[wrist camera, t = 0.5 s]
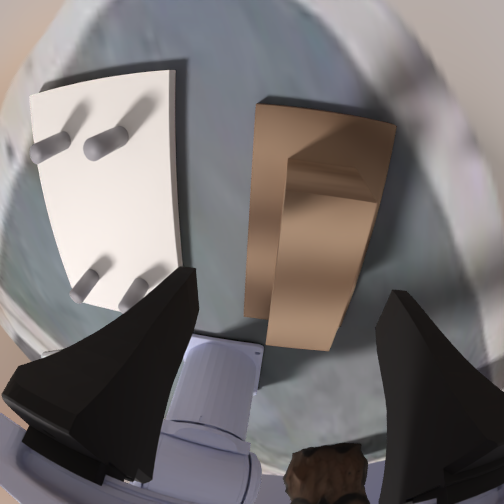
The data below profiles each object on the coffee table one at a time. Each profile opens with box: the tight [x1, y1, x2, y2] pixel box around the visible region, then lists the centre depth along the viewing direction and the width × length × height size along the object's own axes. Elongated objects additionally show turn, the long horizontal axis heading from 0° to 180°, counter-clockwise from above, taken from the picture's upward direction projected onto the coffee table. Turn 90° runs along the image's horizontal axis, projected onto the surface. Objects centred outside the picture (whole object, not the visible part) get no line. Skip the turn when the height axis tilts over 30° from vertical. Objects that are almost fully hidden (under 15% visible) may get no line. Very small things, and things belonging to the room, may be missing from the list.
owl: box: [283, 443, 370, 504], centre depth 34 cm, size 13×13×20 cm
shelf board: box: [244, 103, 397, 351], centre depth 17 cm, size 16×8×6 cm, turn 177°
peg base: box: [30, 70, 183, 314], centre depth 19 cm, size 20×12×4 cm, turn 177°
